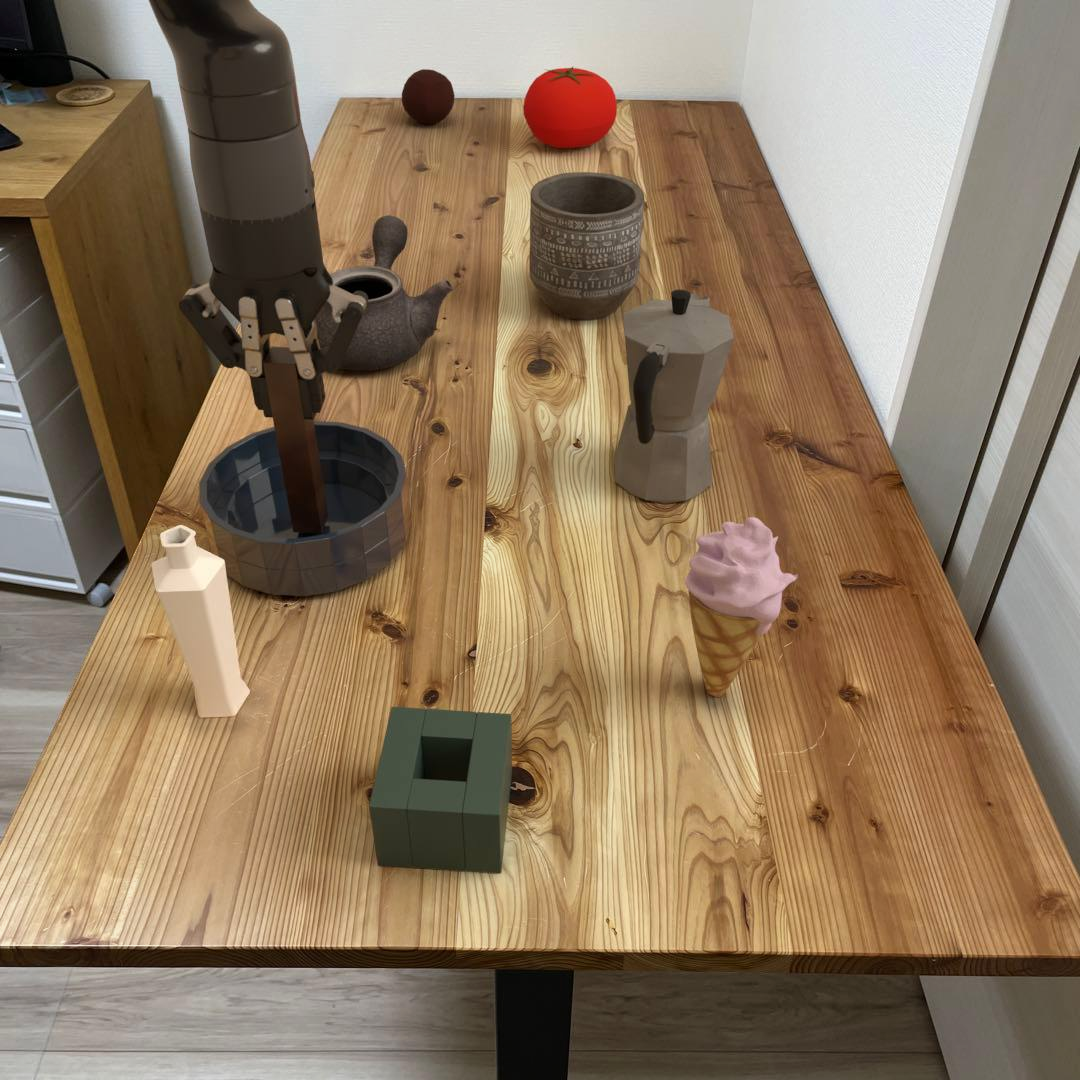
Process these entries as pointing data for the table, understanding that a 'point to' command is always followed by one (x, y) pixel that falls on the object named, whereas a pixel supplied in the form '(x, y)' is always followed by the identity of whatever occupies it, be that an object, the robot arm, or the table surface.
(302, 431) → the brown rectangular peg
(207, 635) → the perfume bottle
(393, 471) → the bowl
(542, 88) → the tomato
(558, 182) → the planter
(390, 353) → the teapot
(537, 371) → the table surface
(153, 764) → the table surface
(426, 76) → the dark brown ball
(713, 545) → the ice cream cone
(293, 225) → the robot arm
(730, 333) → the coffeepot
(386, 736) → the holder
